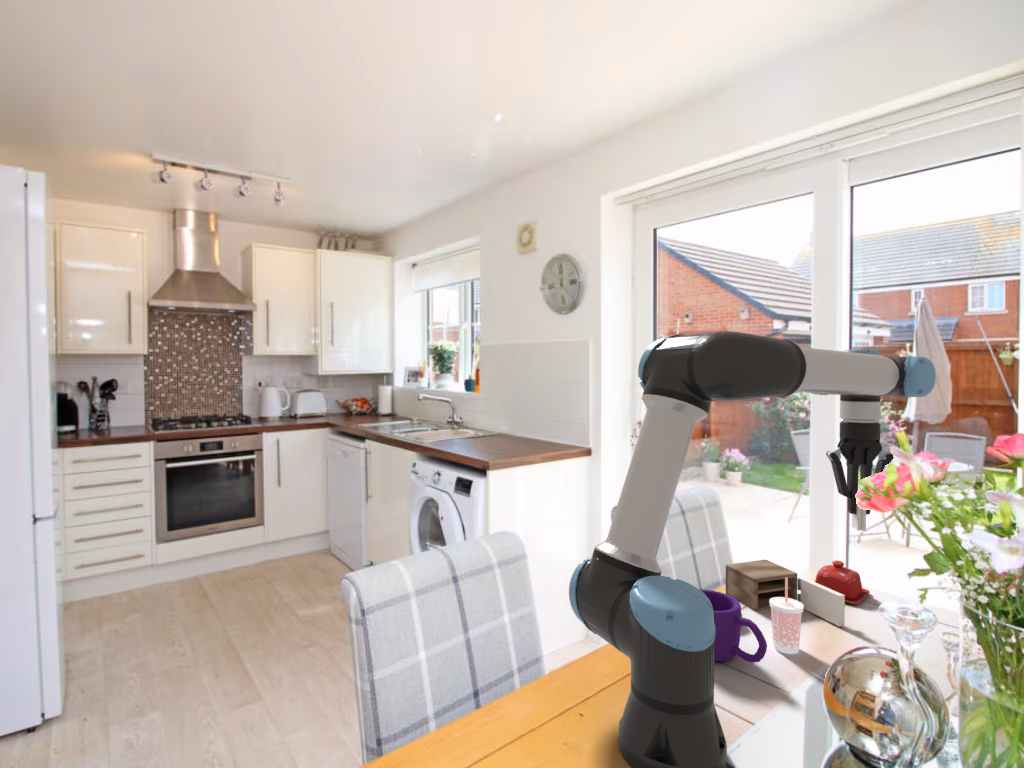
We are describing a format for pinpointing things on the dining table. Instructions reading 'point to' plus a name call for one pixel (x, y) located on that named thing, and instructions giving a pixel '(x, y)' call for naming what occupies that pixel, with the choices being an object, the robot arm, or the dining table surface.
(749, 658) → the mug
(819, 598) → the door
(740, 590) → the cabinet
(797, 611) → the beverage cup
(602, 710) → the dining table surface
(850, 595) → the butter dish
